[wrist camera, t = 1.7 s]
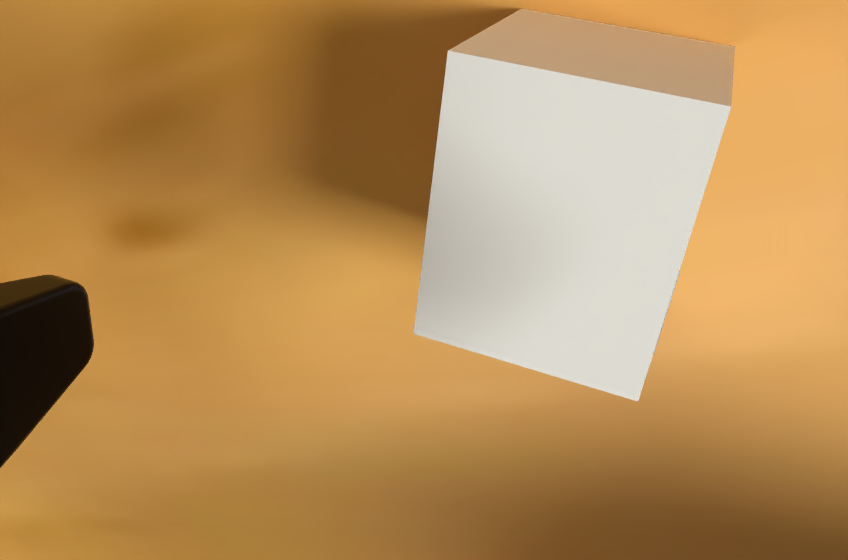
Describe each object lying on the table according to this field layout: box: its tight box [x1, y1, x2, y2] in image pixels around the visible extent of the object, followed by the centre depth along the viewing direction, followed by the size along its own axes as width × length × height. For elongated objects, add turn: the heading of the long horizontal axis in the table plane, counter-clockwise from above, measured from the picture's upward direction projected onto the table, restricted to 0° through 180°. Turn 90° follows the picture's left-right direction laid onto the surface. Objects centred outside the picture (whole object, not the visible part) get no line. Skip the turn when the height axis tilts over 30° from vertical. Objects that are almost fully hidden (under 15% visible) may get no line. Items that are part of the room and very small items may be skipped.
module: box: [414, 9, 735, 401], centre depth 14 cm, size 5×4×4 cm
